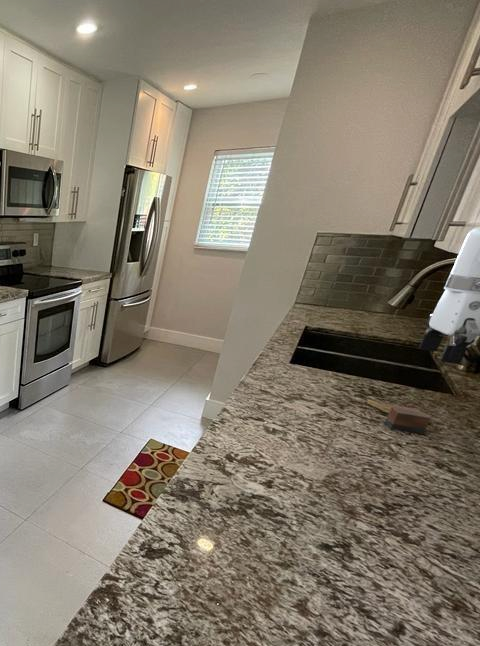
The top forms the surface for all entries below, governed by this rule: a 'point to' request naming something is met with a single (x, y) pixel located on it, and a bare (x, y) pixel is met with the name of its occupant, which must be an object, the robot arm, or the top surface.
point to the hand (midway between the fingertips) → (437, 356)
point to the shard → (387, 406)
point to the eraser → (407, 420)
